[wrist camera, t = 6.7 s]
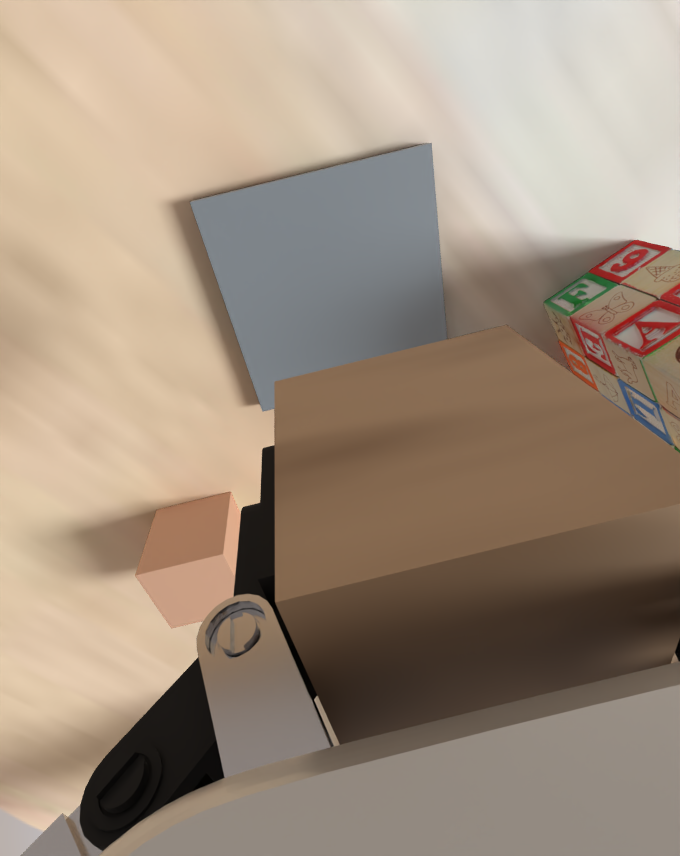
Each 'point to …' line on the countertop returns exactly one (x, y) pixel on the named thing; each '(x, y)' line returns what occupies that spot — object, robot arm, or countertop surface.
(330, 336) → the baseplate
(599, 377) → the stack of blocks
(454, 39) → the countertop surface
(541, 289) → the countertop surface
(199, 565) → the salmon pink cube
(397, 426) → the walnut brick
